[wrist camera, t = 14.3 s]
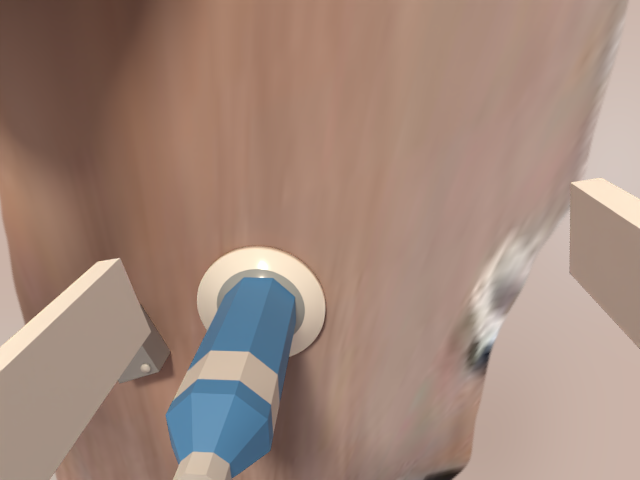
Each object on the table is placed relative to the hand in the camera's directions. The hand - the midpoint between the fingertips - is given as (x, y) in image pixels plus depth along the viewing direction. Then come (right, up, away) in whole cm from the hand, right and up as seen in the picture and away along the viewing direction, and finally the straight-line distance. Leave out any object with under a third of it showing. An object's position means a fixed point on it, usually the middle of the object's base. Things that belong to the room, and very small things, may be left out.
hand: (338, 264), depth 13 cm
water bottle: (-8, -8, +43) cm, 44 cm away
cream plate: (-8, -7, +44) cm, 45 cm away
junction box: (-25, -12, +47) cm, 55 cm away
